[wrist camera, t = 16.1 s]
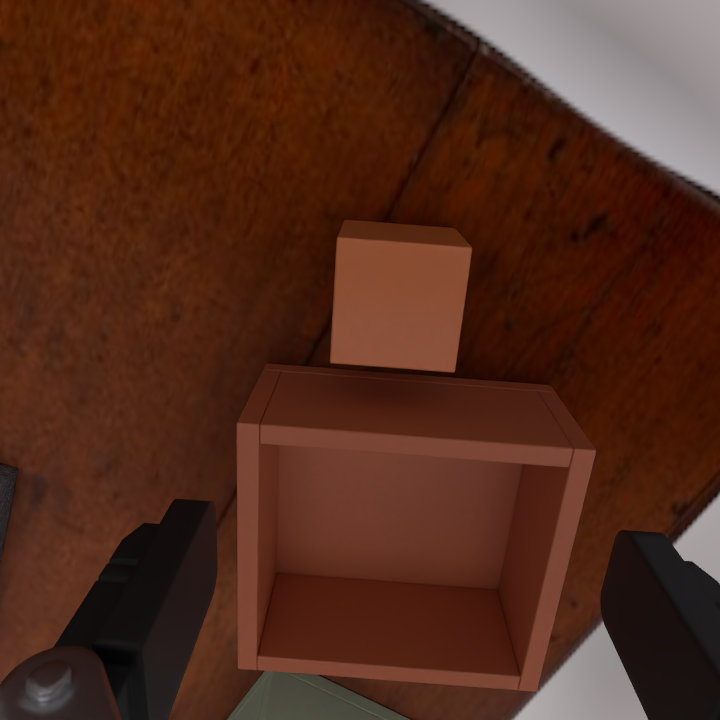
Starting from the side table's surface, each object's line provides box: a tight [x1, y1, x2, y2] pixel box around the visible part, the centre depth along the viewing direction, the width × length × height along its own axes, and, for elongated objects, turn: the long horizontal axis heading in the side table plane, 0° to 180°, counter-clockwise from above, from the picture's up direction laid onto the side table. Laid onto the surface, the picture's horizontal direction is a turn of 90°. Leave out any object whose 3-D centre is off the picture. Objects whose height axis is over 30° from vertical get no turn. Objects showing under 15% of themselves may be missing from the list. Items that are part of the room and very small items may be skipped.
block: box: [330, 220, 472, 372], centre depth 22 cm, size 4×4×4 cm
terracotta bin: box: [237, 363, 596, 692], centre depth 25 cm, size 13×12×6 cm
